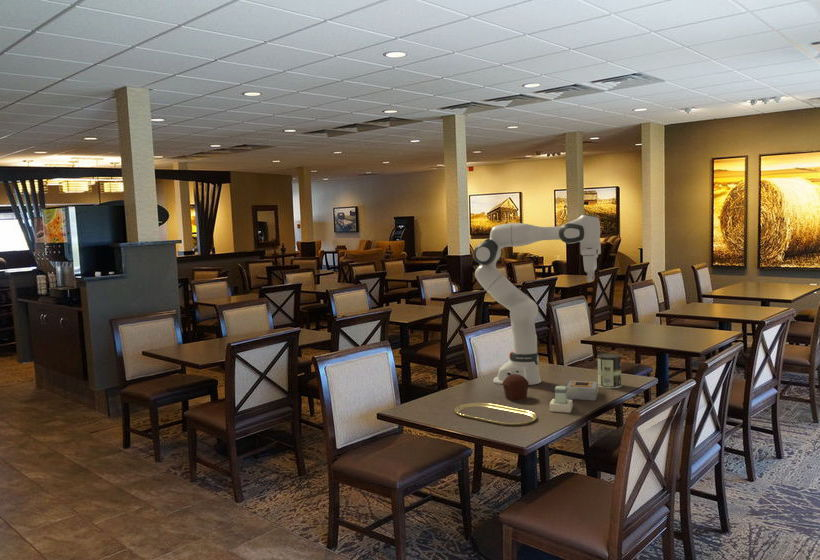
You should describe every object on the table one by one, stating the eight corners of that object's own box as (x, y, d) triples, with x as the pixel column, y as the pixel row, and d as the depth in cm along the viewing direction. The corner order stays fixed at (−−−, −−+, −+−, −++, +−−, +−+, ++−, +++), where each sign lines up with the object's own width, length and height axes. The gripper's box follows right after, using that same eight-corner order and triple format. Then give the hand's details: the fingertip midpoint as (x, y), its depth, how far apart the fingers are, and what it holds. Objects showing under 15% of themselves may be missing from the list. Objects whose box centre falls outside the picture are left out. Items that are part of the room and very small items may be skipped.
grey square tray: (549, 411, 256) (549, 403, 256) (552, 405, 263) (552, 398, 263) (570, 412, 253) (570, 405, 253) (572, 407, 261) (572, 399, 260)
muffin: (528, 401, 271) (528, 378, 270) (502, 401, 273) (501, 378, 272) (529, 394, 282) (528, 372, 282) (503, 394, 285) (503, 371, 284)
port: (566, 398, 273) (566, 386, 273) (569, 391, 284) (569, 379, 284) (595, 400, 269) (595, 387, 268) (597, 393, 280) (597, 381, 280)
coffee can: (617, 382, 297) (617, 352, 295) (624, 388, 286) (624, 357, 285) (595, 383, 297) (594, 353, 296) (601, 389, 287) (600, 357, 285)
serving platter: (519, 430, 235) (519, 426, 235) (445, 414, 259) (445, 410, 259) (545, 418, 249) (545, 414, 249) (473, 404, 272) (473, 400, 272)
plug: (555, 410, 257) (554, 388, 256) (556, 407, 261) (556, 385, 260) (565, 411, 256) (565, 388, 255) (567, 408, 259) (566, 386, 259)
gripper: (585, 249, 300) (586, 278, 301) (581, 251, 281) (581, 283, 282) (599, 249, 298) (600, 278, 299) (595, 251, 279) (596, 282, 280)
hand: (591, 280), depth 290 cm, fingers open, 8 cm apart
